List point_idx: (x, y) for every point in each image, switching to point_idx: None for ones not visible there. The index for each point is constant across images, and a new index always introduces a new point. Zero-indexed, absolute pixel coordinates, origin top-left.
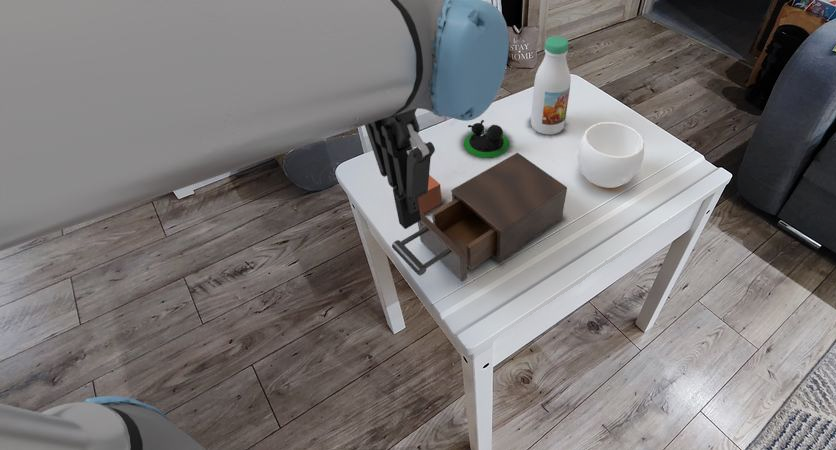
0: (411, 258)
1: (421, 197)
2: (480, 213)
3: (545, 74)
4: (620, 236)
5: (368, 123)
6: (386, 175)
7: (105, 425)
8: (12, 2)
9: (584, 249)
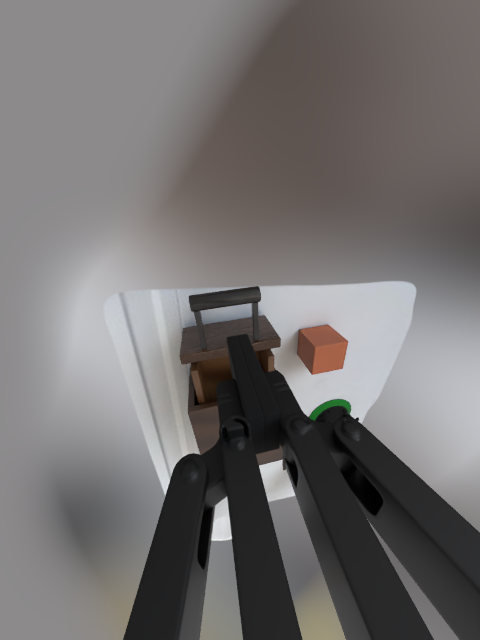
0: (215, 302)
1: (312, 348)
2: None
3: None
4: (159, 457)
5: None
6: (332, 431)
7: None
8: None
9: (161, 432)
